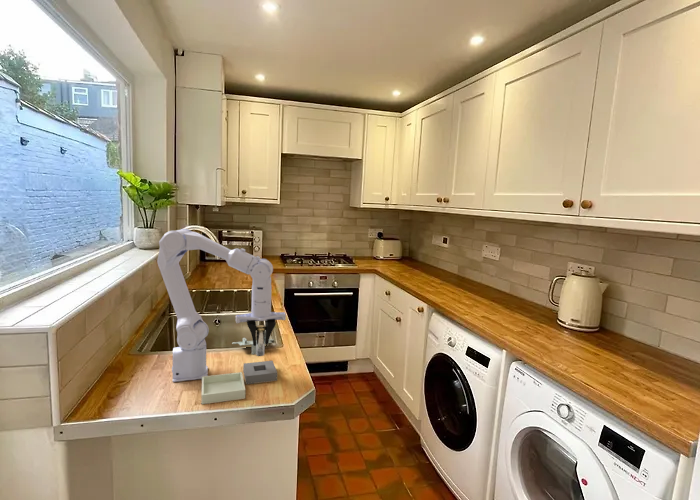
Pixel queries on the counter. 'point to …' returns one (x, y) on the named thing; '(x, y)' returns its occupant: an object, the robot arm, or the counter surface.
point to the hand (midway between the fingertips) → (260, 343)
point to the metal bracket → (250, 344)
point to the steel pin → (260, 340)
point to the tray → (222, 388)
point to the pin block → (259, 372)
